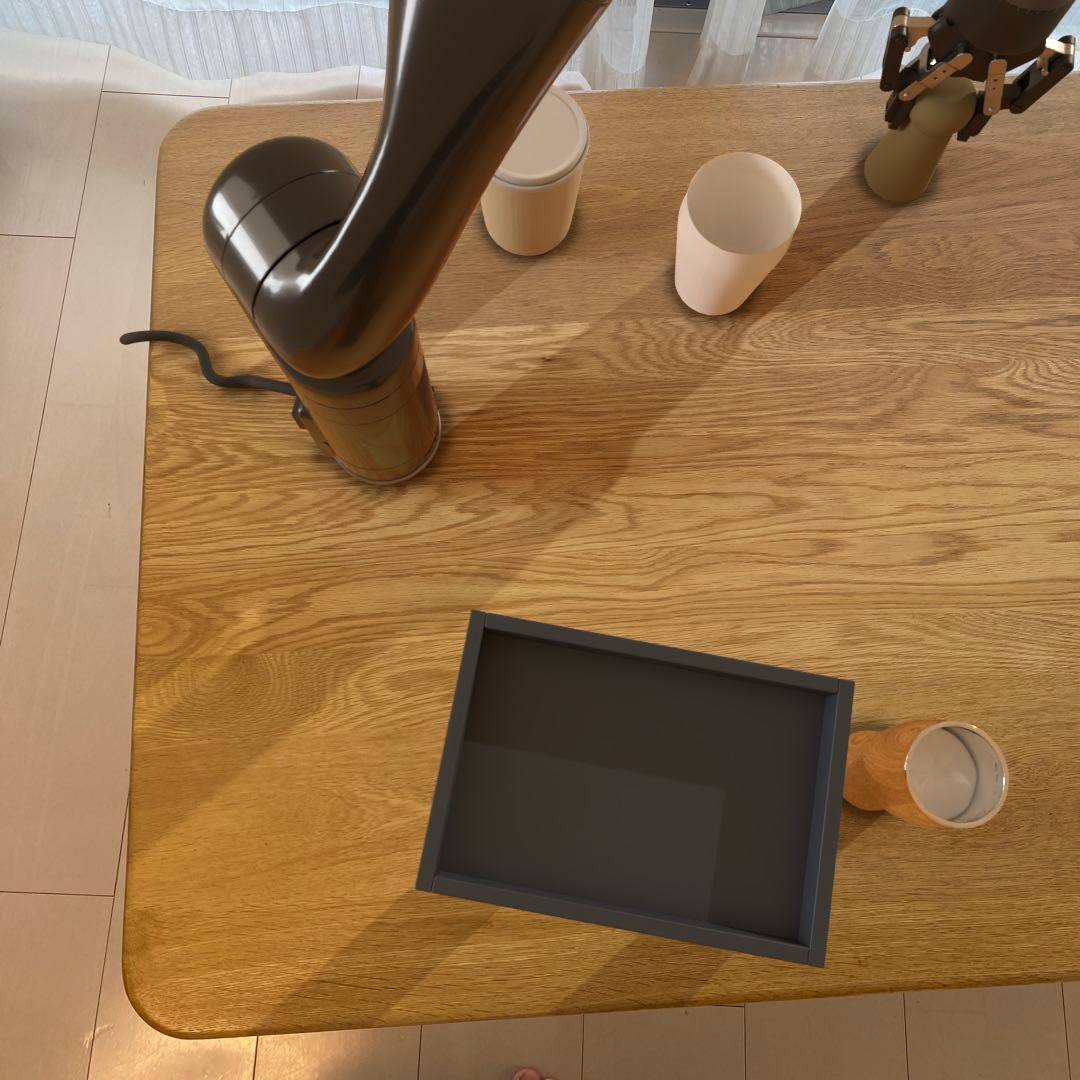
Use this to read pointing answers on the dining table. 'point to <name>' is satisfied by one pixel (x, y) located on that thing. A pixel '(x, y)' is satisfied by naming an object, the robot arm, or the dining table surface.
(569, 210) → the coffee cup
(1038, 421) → the dining table surface
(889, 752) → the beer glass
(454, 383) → the dining table surface
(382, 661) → the dining table surface
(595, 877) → the tray
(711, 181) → the cup
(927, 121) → the cork
